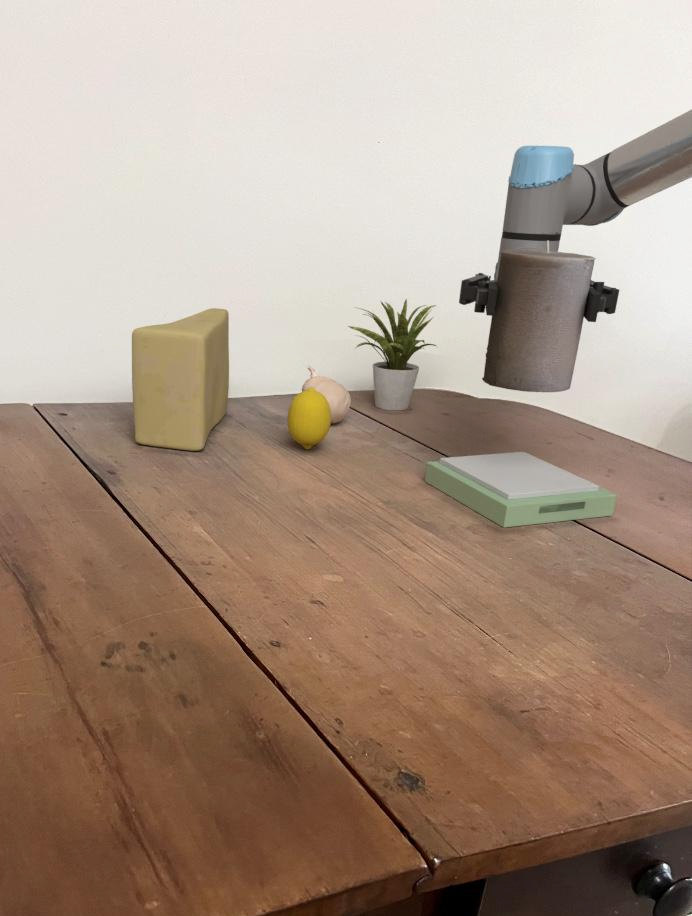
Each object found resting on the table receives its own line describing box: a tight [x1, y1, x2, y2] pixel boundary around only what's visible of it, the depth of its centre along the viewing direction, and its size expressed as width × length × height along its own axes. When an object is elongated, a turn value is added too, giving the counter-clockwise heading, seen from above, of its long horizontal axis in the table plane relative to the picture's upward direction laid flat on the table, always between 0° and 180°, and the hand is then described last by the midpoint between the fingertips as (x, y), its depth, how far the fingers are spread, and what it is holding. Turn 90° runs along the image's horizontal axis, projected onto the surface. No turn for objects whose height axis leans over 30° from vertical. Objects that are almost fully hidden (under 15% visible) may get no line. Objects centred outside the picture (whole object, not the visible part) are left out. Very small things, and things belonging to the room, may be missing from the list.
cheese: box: [131, 307, 230, 452], centre depth 123 cm, size 22×10×15 cm, turn 162°
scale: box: [424, 451, 618, 528], centre depth 103 cm, size 16×14×3 cm
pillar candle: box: [481, 240, 596, 393], centre depth 99 cm, size 10×10×15 cm
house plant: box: [347, 298, 439, 411], centre depth 140 cm, size 14×14×16 cm
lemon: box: [286, 388, 332, 450], centre depth 117 cm, size 6×6×8 cm
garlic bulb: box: [301, 364, 352, 424], centre depth 130 cm, size 7×6×8 cm
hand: (542, 305), depth 95 cm, fingers closed on pillar candle, 9 cm apart
